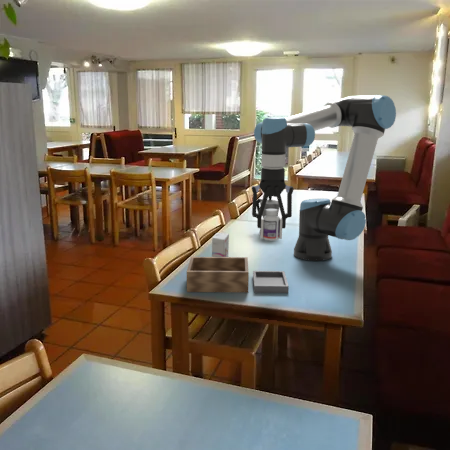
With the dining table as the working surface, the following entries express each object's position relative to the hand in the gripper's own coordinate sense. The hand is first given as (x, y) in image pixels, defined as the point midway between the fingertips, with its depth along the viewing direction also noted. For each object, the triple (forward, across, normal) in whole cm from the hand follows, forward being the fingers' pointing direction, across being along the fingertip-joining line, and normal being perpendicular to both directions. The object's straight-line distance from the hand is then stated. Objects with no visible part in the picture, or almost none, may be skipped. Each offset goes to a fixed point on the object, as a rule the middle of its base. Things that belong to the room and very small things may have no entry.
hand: (271, 237), depth 152 cm
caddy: (+17, +17, -1) cm, 24 cm away
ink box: (+17, +17, -19) cm, 31 cm away
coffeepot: (+17, -4, -66) cm, 68 cm away
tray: (+17, 0, 0) cm, 17 cm away
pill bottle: (+1, 0, 0) cm, 1 cm away
